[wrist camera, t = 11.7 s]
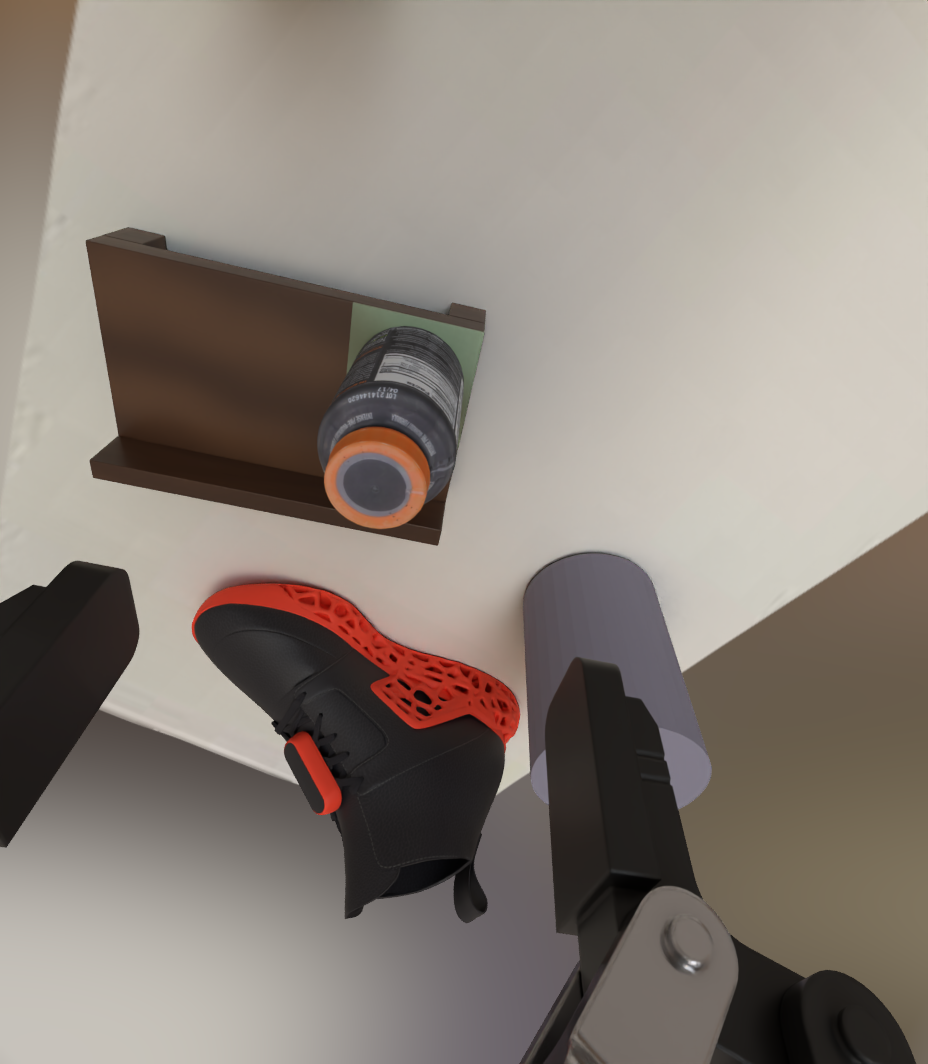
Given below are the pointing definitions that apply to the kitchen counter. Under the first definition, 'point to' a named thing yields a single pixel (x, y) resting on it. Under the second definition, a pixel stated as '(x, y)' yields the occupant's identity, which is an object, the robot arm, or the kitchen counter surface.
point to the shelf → (240, 376)
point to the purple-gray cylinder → (609, 657)
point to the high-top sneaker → (370, 734)
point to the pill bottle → (392, 428)
